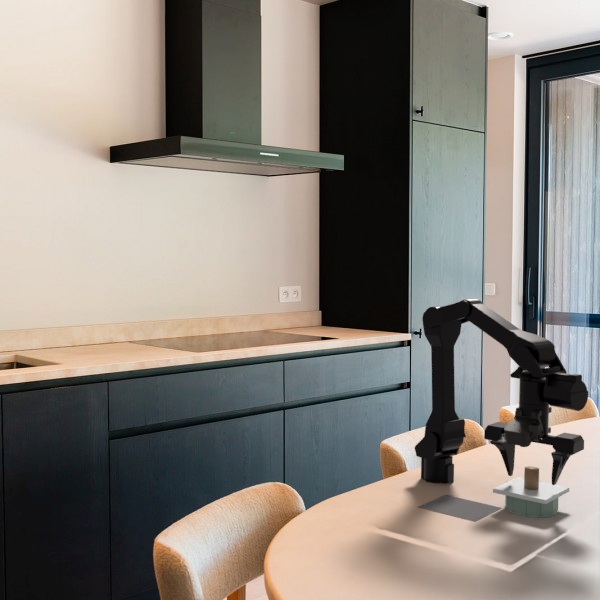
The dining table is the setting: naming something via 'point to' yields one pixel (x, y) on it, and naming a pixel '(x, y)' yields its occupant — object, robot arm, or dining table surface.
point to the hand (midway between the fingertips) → (531, 480)
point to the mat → (460, 508)
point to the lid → (531, 488)
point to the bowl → (531, 507)
